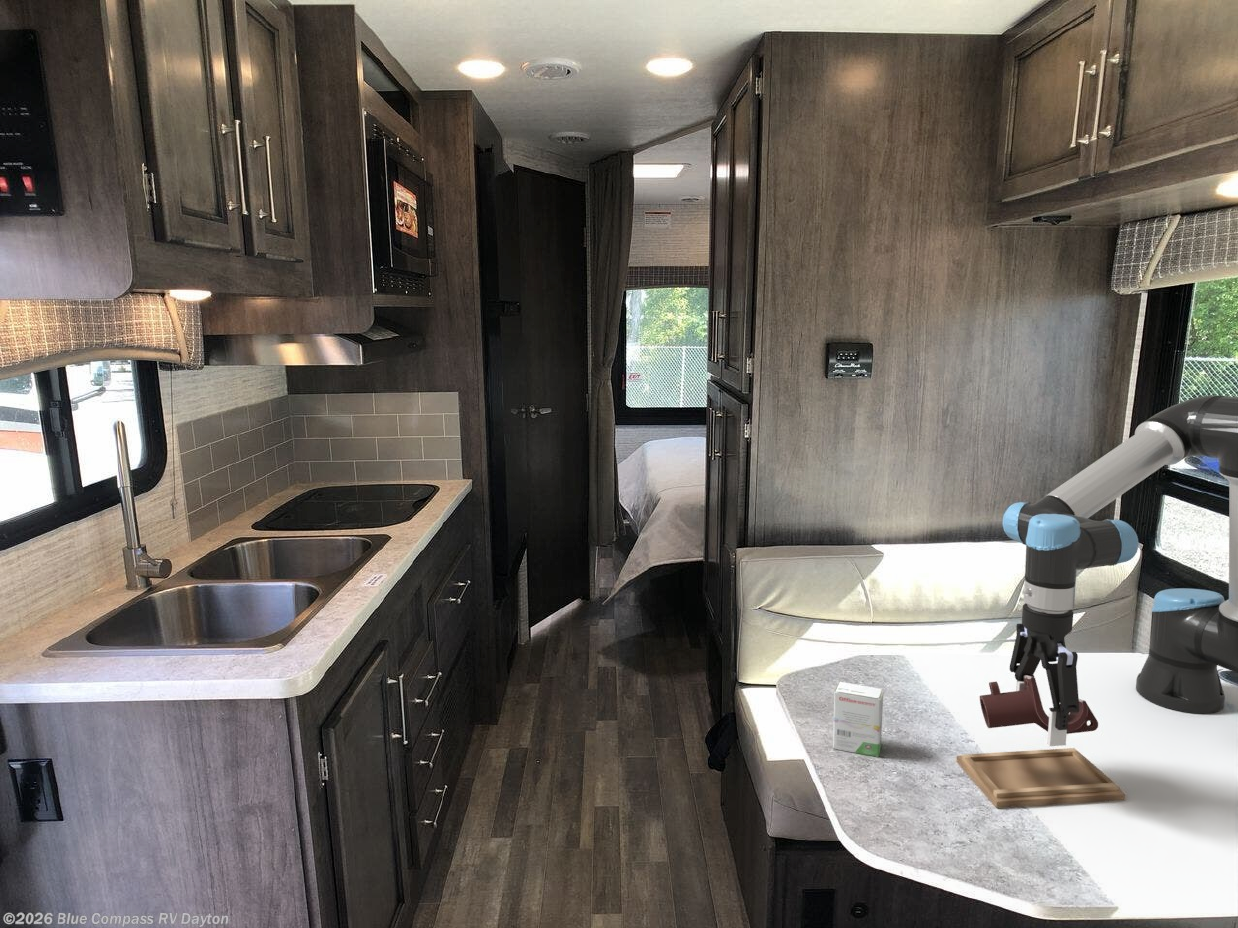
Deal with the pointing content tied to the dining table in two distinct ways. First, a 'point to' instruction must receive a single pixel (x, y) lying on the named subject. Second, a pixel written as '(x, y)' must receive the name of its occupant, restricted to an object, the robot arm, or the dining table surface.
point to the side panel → (1039, 778)
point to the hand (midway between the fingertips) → (1039, 729)
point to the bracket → (1028, 709)
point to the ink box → (857, 719)
